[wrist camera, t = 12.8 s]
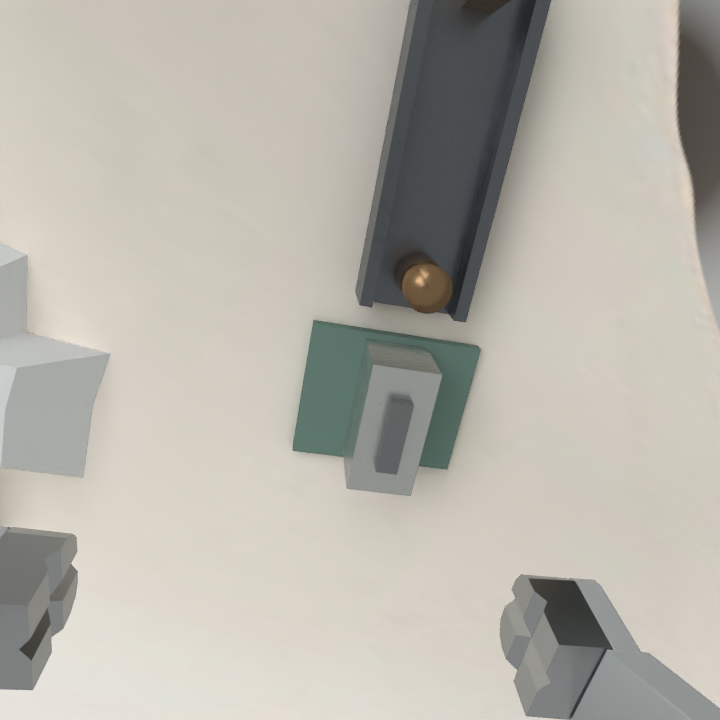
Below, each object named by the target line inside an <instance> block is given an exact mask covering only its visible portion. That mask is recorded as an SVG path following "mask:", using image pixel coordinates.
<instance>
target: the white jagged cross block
mask: <svg viewBox="0 0 720 720" xmlns="http://www.w3.org/2000/svg"><path fill="white" fill-rule="evenodd" d="M26 312H27V254H25V253H22V252H20V251H18V250H16V249H14V248H12V247H10V246H8V245H5V244H3V243H1V242H0V468H8V469H16V470H24V471H32V472H40V473H49V474H57V475H65V476H73V477H81V478H83V475H84V467H85V460H86V452H87V445H88V437H89V430H90V422H91V415H92V407H93V403H94V400H95V397H96V394H97V391H98V388H99V386H100V383H101V380H102V377H103V374H104V371H105V368H106V365H107V362H108V359H109V356H110V353H106V352H103V351H99V350H95V349H91V348H87V347H83V346H79V345H75V344H71V343H67V342H63V341H59V340H55V339H51V338H47V337H44V336H40V335H36V334H32V333H28V332H26Z"/></svg>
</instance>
